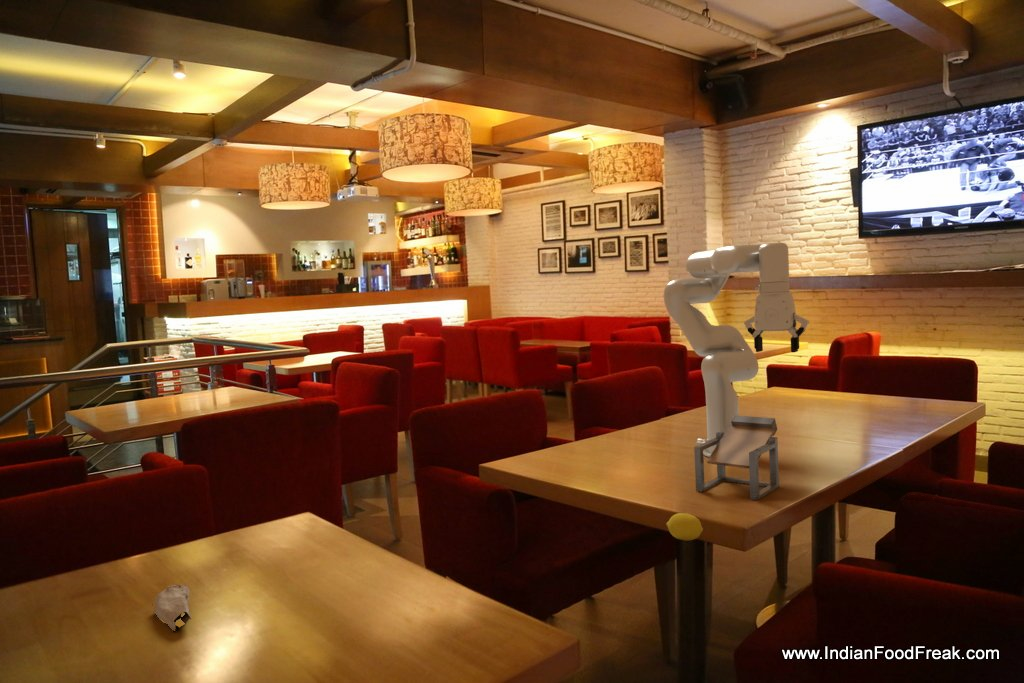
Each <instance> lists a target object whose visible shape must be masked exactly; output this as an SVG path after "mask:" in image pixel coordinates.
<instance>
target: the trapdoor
mask: <svg viewBox="0 0 1024 683" xmlns="http://www.w3.org/2000/svg"><path fill="white" fill-rule="evenodd" d="M731 423H732V425H730V427H729V428H728V430H727V431H726V433H725V434H724V436H723V437H722V439H721V440H720V442H719V443H718V445H717V446H716V448H715V449H714V451H713V453H712V454H711V456H710V457H708V458H707V461H706V463H707V464H708V465H709V464H710V465H716V466H717V465H724V466H725V467H734V468H741V469H749V452H751V451H753V450H755V449H757V448H759V447H761V446H763V445H765V444H767V443H769V438H770V437H775V434H776V433H777V432H778V426H777V422H776V418H775V417H763V416H747V415H739V416H736V415H735V416H734V417H733V419H732V420H731ZM761 456H762V454H761V455H759V456H758V460H760V458H761Z"/></svg>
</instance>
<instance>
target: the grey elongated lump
mask: <svg viewBox="0 0 1024 683" xmlns="http://www.w3.org/2000/svg"><path fill="white" fill-rule="evenodd" d="M190 594H191V587H189V586H187V585H182V584H175V585H173V584H172V585H169V586H167V587H165V589H163V590H162V591H160V593H158V594H157V595H155V597H154V604H153V603H152V605H151V606H154V608H153V612H154V611H155V613H154V615H155V614H156V615H157V617H158V618H160V619H162V620H163V621H164V622H166V623H167V624H168V626H169V627H170V628H171V629H172V630H175V629H176V630H177V626H176V625H175V623H174V621H175V620H176V619H178V618H179V616H180V614H182V613H185V615H184V616H183V617H181V620H182V621H183V622H184V623H185V625H186V624H187V623H188V622H189V620H192V616H191V615H190V607H189V604H190V597H189V596H190ZM156 615H155V616H156ZM157 617H156V618H157ZM158 618H157V619H158ZM168 626H167V627H168ZM169 627H168V628H169ZM170 628H169V629H170ZM171 629H170V630H171ZM172 630H171V631H172Z"/></svg>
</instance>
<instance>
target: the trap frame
mask: <svg viewBox="0 0 1024 683" xmlns="http://www.w3.org/2000/svg"><path fill="white" fill-rule="evenodd" d="M723 436H724V433H723V432H718V433H716V438H714V439H712V440H709V441H707V442H705V443H702V444H700V445H698V446H697V445H695V446H694V467H695V468H694V469H695V470H694V474H695V491H696V492H697V491H700V492H699V493H703V492H705V491H707V490H709V489H711V488H713V487H714V485H715V486H716V485H718V484H720V483H722V482H730V483H736V482H737V484H743V483H745V485H749V490H750V491H749V495H750V496H749V497H750V500H751V501H756V500H757V501H759V500H760V499H762V498H763V497H765V496H766V494H767V495H768V494H770V493H771V492H773V491H774V490H776V489H778V488H779V487H780V479H779V477H780V476H779V448H778V447H779V446H778V444H779V442H778V440H779V439H778V437H776V436H772V437H770V438H769V442H768V443H767V444H765V445H763V446H761V447H759V448H757V449H755V450H753V451H751V452H749V468H748V469H749V479H746V478H742V477H741V478H739V477H733V476H727V472H726V466H724V465H716V468H717V469H716V470H717V471H716V472H717V477H715V478H713V479H711V480H710V481H709V480H708V482H706V483H705V465H704V463H705V462H704V455H703V450H704V449H707V448H709V447H711V446H713V445H716V446H717V445H718V443H719V442H720V440H721V439H722V437H723ZM768 451H769V452H768ZM765 453H768V455H769V456H768V457H769V481H762V480H760V476H759V475H760V474H759V471H760V470H759V469H760V468H759V459H758V456H759V455H761V456H762V455H763V454H765ZM712 486H713V487H712ZM765 486H767V487H765ZM778 486H779V487H778ZM710 487H711V488H710ZM760 487H763V488H762V489H760ZM777 487H778V488H777ZM708 488H709V489H708ZM775 488H776V489H775ZM706 489H707V490H706ZM704 490H705V491H704ZM772 490H773V491H772ZM702 491H703V492H702ZM769 492H770V493H769ZM761 497H762V498H761ZM758 499H759V500H758Z"/></svg>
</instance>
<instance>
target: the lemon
mask: <svg viewBox="0 0 1024 683" xmlns="http://www.w3.org/2000/svg"><path fill="white" fill-rule="evenodd" d="M666 527H667V529H668V532H669V533H670V535H672V537H674V538H675V539H677V540H681V541H686V542H687V541H688V542H689V541H693V540H696V539H697V538H699V537H700V536H701V534H702V532H703V530H704V528H703V527H702V523H701V521H700V519H698V518H697V517H696V516H695V515H692V514H690V513H686V512H685V513H684V512H679V513H678V512H677V513H676V514H673V515H672V516H671V517H670V518H669V519H668V521H667V522H666Z"/></svg>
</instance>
